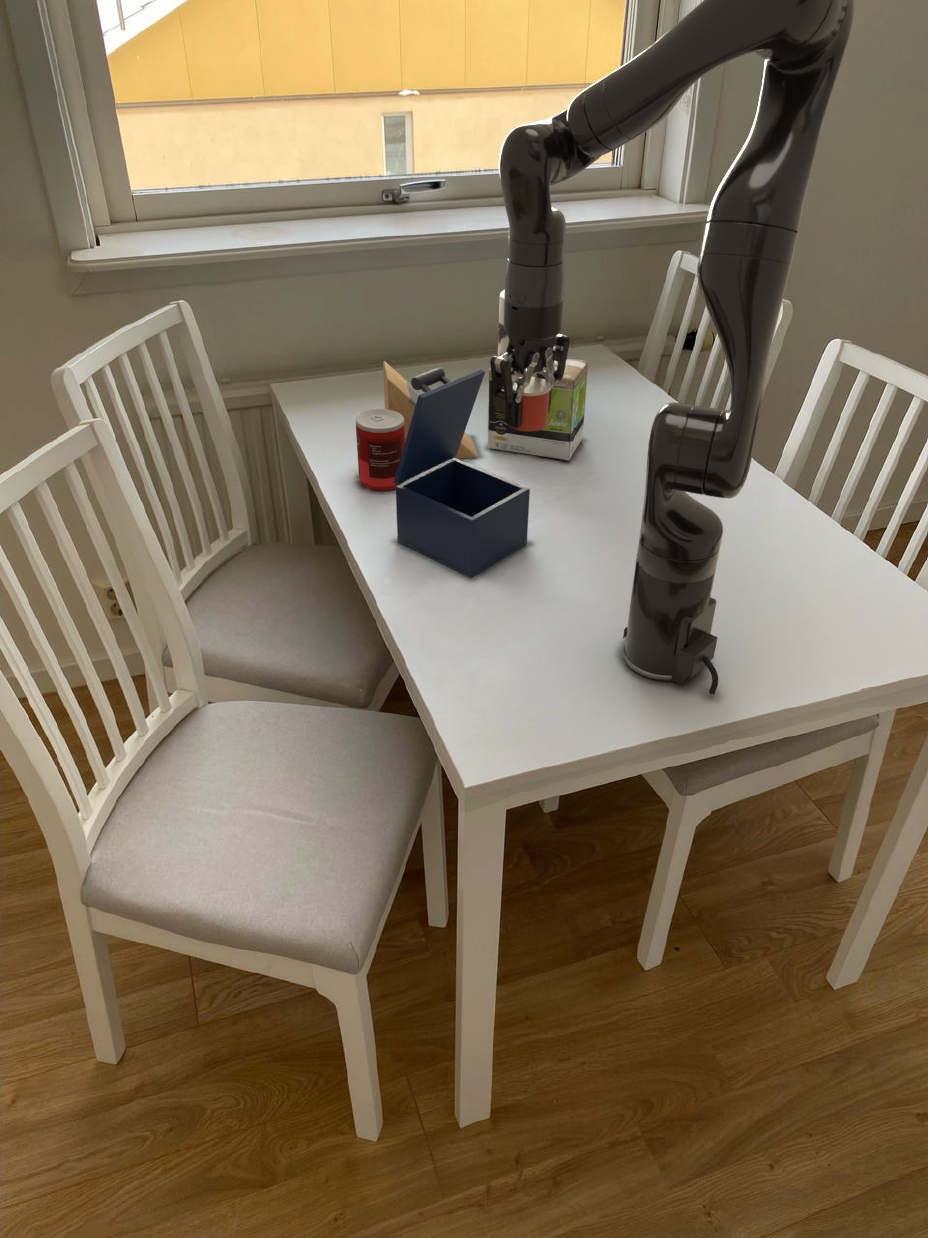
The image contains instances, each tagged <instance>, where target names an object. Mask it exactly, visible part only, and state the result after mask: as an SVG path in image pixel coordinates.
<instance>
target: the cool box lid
mask: <svg viewBox="0 0 928 1238" xmlns="http://www.w3.org/2000/svg"><path fill="white" fill-rule="evenodd" d="M485 373H486V371H485V370H484V369H481V368H480V369H478V370H476V371H473V372H471V373H468V374H466V375H463V376H461V377H458V378H456V379H454V380H450V379H449V378H448V377H446V373H445V370H444V369H443V368H442V367H437V368H434V369H431V370H429V371H426V372H423V373H421V374H419V375H416V376H414V377H412V378H411V380H410V385H412V387H413V388H414V389H415V390H417V391H422V393H421V394H420V395H419V396H418V399H417V403H416V406H415V410H414V413H413V417H412V420H411V424H410V427H409V430H408V434H407V437H406V441H405V444H404V448H403V451H402V455H401V458H400V462H399V465H398V468H397V472H396V475H395V479H394V483H396V484H397V485H398V484H400V483H402V482H406V481H408V480H410V479H412V478H414V477H416V476H418V475H420V474H422V473H424V472H426V471H429V470H431V469H433V468H435V467H437V466H439V465H441V464H443V463H445V462H447V461H449V460H451V459H452V458H454V457H456V455H457V452H458V449H459V447H460V444H461V441H462V438H463V435H464V432H465V433H466V429H467V426H468V423H469V420H470V417H471V415H472V411H473V408H474V406H475V403H476V400H477V397H478V393H479V391H480V388H481V385H482V383H483V379H484V377H485ZM439 382H440V383H442V384H441V385H439V386H437V387H434V388H432V389H431V388H430V387H429V386H433V385H435V384H437V383H439Z"/></svg>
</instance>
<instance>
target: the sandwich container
mask: <svg viewBox="0 0 928 1238" xmlns="http://www.w3.org/2000/svg"><path fill="white" fill-rule="evenodd" d="M382 367H383V394H384V396H383V397H384V409H387V410H392V411H396V412H398V413H400V414H401V415H402V416H403V418H404V427H405V441H406V437H407V434H408V430H409V427H410V424H411V420H412V417H413V413H414V410H415V406H416V403H417V399H418V396H419V395H420V394H422V393H420V392H419V390H415V389H414V388H413V387H412V385H411V383H409V382H408V381H407V380H406V379H405V378H404V376H402V375H401V374H400V373H399V372H397V371H396V370H395V369H394V368H393V367H392V366H391V365H390V364H389V363H388V362H386V361H385V360H384V361H382ZM478 457H479V456H478V452H477V448H476V446H475V444H474V441H473V439H472V437H471V436H470V435H469V434H468V433H466V431H465V432H464V435H463V438H462V441H461V444H460V447H459V449H458V452H457V455H456V457H454V458H456V459H470V458H471V459H472V458H473V459H474V458H478ZM452 459H453V458H452Z"/></svg>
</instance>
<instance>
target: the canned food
mask: <svg viewBox="0 0 928 1238" xmlns="http://www.w3.org/2000/svg"><path fill="white" fill-rule="evenodd" d="M355 433H356V434H355V435H356V437H355V438H356V449H357V467H358V478H359V480H360V483H361V484H362V485H363V486H364V487H365V488H367V489H369V490H373V491H377V492H378V491H380V492H381V491H382V492H383V491H387V492H388V491H392V490H396V486H398V485H400V484H402V483H404V482H405V481H404V482H402V483H400V484H398V485H397V484H396V483H394V479H395V475H396V472H397V468H398V465H399V462H400V458H401V455H402V451H403V448H404V444H405V427H404V418H403V416H402V415H401V414H400V413H398V412H396V411H392V410H387V409H385V408H374V409H368V410H365V411H362V412H360V413H359V414H357V415H356V418H355Z"/></svg>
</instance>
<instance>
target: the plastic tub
mask: <svg viewBox="0 0 928 1238" xmlns="http://www.w3.org/2000/svg"><path fill="white" fill-rule="evenodd" d="M519 378H522V377H519ZM516 389H517V383H514V386H513V392H516ZM550 390H551V383H550V382H547V381H546V380H545V379H542V378H536V377H531V381H530V384H529V385H528V386H526V387H525V390H524V393H523V397H522V400H521V401H522V422H521V426H520V427H518V428H514V427H512V428H514V429H516V430H520V431H538V430H541V429H543V428H545V427H546V426H547V419H548V403H549V391H550ZM510 427H511V426H510Z"/></svg>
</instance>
